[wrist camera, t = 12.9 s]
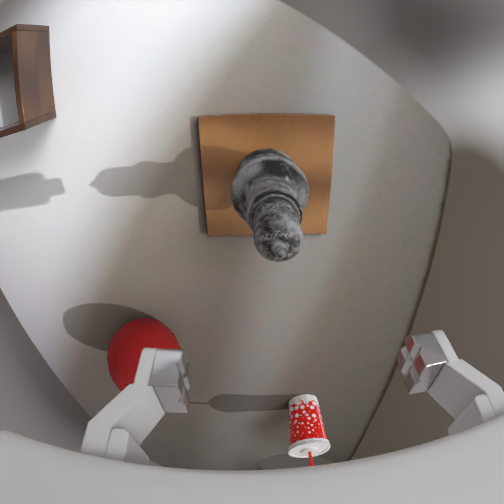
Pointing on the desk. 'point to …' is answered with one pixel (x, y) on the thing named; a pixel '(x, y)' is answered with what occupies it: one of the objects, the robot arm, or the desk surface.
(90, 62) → the desk surface
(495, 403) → the robot arm
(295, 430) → the beverage cup
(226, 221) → the trivet
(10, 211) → the desk surface
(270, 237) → the grey stone turned piece
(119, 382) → the apple
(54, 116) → the open wooden box
